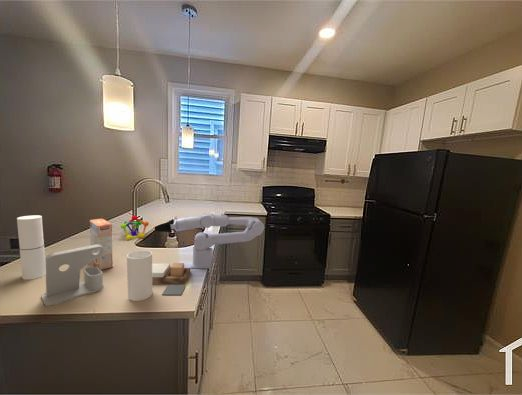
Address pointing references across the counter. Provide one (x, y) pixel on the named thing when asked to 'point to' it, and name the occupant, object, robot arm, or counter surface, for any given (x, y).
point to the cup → (139, 275)
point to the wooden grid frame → (172, 278)
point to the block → (177, 270)
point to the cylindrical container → (31, 246)
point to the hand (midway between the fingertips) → (157, 228)
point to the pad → (174, 290)
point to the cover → (159, 269)
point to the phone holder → (71, 274)
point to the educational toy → (133, 234)
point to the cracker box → (102, 242)
